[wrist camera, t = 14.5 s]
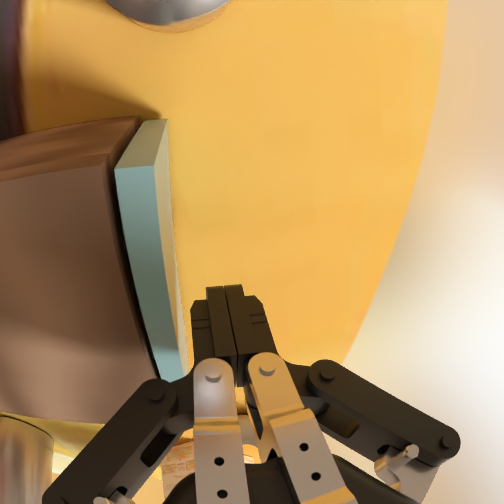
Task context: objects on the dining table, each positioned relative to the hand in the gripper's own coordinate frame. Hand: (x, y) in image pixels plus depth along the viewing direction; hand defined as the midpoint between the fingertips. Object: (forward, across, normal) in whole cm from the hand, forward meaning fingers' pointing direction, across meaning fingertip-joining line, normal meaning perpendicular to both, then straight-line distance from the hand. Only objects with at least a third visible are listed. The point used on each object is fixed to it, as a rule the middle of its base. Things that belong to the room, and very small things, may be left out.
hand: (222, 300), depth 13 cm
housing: (+4, +12, 0) cm, 12 cm away
